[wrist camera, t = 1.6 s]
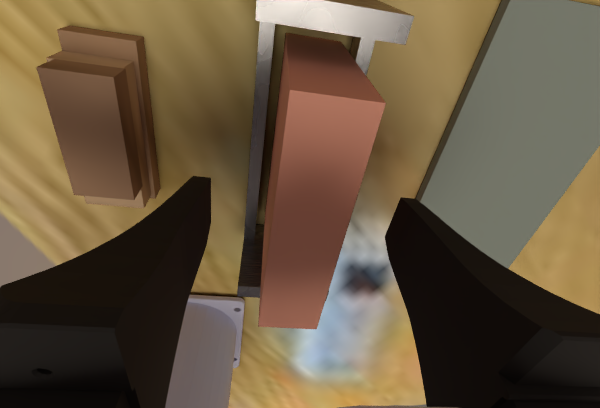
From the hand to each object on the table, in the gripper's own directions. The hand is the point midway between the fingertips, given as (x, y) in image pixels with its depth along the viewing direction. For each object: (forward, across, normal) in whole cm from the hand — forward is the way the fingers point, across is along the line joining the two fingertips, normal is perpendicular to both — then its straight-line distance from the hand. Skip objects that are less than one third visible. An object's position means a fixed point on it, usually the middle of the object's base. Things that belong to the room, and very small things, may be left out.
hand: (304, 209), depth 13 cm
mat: (+6, -12, 0) cm, 14 cm away
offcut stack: (+6, +9, 0) cm, 11 cm away
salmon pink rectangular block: (+6, 0, 0) cm, 6 cm away
